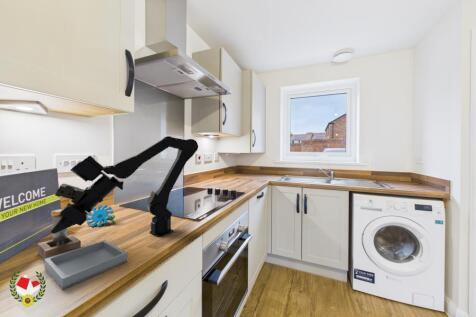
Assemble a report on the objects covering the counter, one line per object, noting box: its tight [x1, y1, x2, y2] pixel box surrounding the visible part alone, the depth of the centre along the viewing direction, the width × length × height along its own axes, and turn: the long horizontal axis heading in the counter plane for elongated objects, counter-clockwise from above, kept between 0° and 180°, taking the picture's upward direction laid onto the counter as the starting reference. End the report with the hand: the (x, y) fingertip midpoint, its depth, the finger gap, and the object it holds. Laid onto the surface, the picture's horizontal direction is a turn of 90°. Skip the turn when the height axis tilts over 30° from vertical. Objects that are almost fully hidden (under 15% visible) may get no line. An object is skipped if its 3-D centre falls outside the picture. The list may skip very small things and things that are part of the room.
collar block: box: [37, 234, 82, 262], centre depth 59 cm, size 8×8×3 cm
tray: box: [44, 239, 128, 291], centre depth 53 cm, size 14×14×2 cm
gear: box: [85, 204, 116, 228], centre depth 84 cm, size 11×6×10 cm
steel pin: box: [50, 208, 68, 247], centre depth 59 cm, size 4×4×12 cm
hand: (53, 230), depth 59 cm, fingers closed on steel pin, 3 cm apart
